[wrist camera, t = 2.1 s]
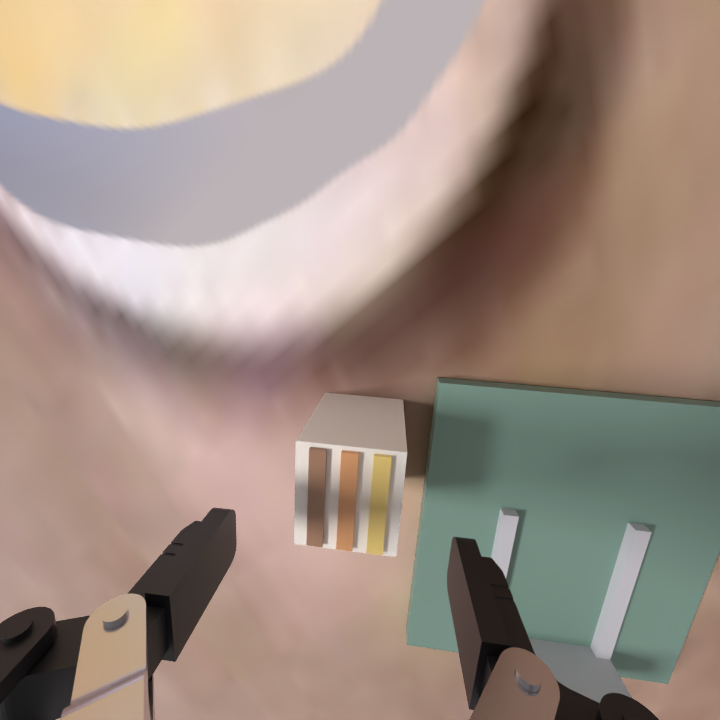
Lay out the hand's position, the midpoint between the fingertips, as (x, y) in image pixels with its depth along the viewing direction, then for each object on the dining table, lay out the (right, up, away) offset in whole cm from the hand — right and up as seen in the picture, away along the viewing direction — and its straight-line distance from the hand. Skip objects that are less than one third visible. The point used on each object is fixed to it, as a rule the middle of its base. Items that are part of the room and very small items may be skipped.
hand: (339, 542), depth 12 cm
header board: (+12, -4, +8) cm, 15 cm away
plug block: (+1, +2, +8) cm, 8 cm away
